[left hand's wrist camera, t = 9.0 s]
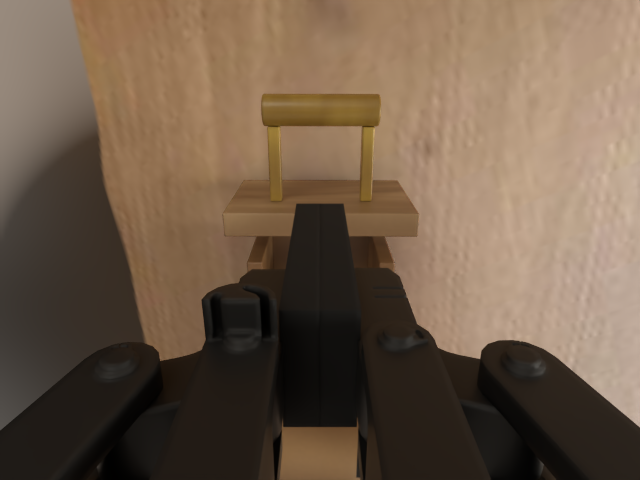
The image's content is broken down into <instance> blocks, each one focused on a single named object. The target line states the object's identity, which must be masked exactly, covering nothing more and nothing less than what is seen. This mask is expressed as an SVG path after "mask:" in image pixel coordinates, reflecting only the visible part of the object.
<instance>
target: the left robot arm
mask: <svg viewBox="0 0 640 480" xmlns="http://www.w3.org/2000/svg"><path fill="white" fill-rule="evenodd" d="M202 308H203V317H204V326H205V335H206V341H205V343H204V346H203V348H202V350H201V351H198V352H196V353H194V354H190V355H187V356H183V357H179V358H174V359H169V360H164V361H160V358H159V352H158V351H157V350H156V349H155V348H154V347H153V346H150V345H147V344H144V343H135V342H127V343H121V344H115V345H111V346H109V347H106V348H104V349H101V350H99V351H97V352H95V353H93V354H92V355H91V356H89V357H87V358H86V359H84V360H83V361H82V362H81V363H80V364H79V365H77V366H76V367H75V368H74V369H73V370H71V371H70V372H69V373H68V374H67V375H65V376H64V377H63V378H62V379H61V380H60V381H58V382H57V383H56V384H55V385H54V386H52V387H51V388H50V389H49V390H48V391H47V392H45V393H44V394H43V395H42V396H41V397H40V398H38V399H37V400H36V401H35V402H34V403H32V404H31V405H30V406H29V407H28V408H26V409H25V410H24V411H23V412H22V413H21V414H19V415H18V416H17V417H16V418H15V419H13V420H12V421H11V422H10V423H9V424H8V425H6V426H5V427H4V428H3V429H2V430H0V480H280V470H281V460H282V449H283V448H282V421H283V427H357V419H358V448H357V472H356V478H360V480H640V427H639V426H637V425H636V424H635V423H634V422H633V421H631V420H630V419H629V418H628V417H627V416H625V415H624V414H623V413H622V412H621V411H619V410H618V409H617V408H616V407H615V406H613V405H612V404H611V403H610V402H609V401H608V400H606V399H605V398H604V397H603V396H602V395H600V394H599V393H598V392H597V391H596V390H594V389H593V388H592V387H591V386H590V385H588V384H587V383H586V382H585V381H584V380H583V379H581V378H580V377H579V376H578V375H577V374H575V373H574V372H573V371H572V370H571V369H569V368H568V367H567V366H566V365H565V364H563V363H562V362H561V361H560V360H559V359H558V358H556V357H555V356H553V355H552V354H550V353H549V352H547V351H546V350H544V349H542V348H539V347H537V346H534V345H532V344H530V343H526V342H522V341H521V342H519V341H514V340H503V341H496V342H493V343H490V344H488V345H487V346H486V347H485V348H484V349H483V350H482V352H481V358H480V359H476V358H471V357H466V356H461V355H457V354H453V353H449V352H446V351H444V350H442V349H439V348H438V347H437V345H436V343H435V340H434V338H433V337H432V336H431V334H430V333H429V332H428V331H427V330H425V329H424V328H422V327H421V326H419V325H417V323H416V320H415V317H414V315H413V312H412V309H411V307H410V304H409V301H408V298H407V296H406V293H405V290H404V289H403V285H402V282H401V279H400V277H399V276H398V275H397V274H395V273H394V272H393V271H392V270H390V269H389V268H354V263H353V257H352V251H351V245H350V239H349V233H348V227H347V221H346V215H345V209H344V204H296V209H295V215H294V221H293V227H292V233H291V239H290V245H289V251H288V257H287V263H286V269H251V270H250V271H249V272H248V273H246V274H245V275H244V276H243V277H241V278H240V281H239V283H236V284H229V285H225V286H222V287H218V288H216V289H214V290H212V291H211V292H209V293H207V294H206V296H205V297H204V298H203V299H202Z"/></svg>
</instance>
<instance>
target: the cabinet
mask: <svg viewBox="0 0 640 480" xmlns="http://www.w3.org/2000/svg"><path fill="white" fill-rule="evenodd" d="M282 448H283V449H282V460H281V470H280V480H360V478H356V472H357V448H358V419H357V427H283V421H282Z"/></svg>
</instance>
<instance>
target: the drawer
mask: <svg viewBox="0 0 640 480" xmlns="http://www.w3.org/2000/svg"><path fill="white" fill-rule="evenodd" d="M261 111H262V122H263V125H264V126H268V128H267V130H268V154H269V179H270V180H244V181H243V183H242V185H241V186H240V188H239V189H238V191H237V192H236V194H235V196H234V197H233V199H232V200H231V202H230V203H229V205H228V206H227V208H226V210H225V211H224V213H223V223H224V235H225V236H257V237H256V240H255V243H254V246H253V248H252V251H251V254H250V257H249V259H248V262H247V270H248V272H249V271H250V270H251V269H286V263H287V257H288V251H289V245H290V239H291V233H292V227H293V221H294V215H295V209H296V204H344V209H345V215H346V221H347V227H348V233H349V239H350V245H351V251H352V257H353V263H354V268H389V269H390V270H392V271H393V272H394V265H395V263H394V261H393V258H392V255H391V253H390V250H389V247H388V244H387V242H386V239H385V236H417V234H418V222H419V213H418V212H417V210H416V208H415V207H414V205H413V204H412V202H411V201H410V199H409V198H408V196H407V195H406V193H405V191H404V190H403V188H402V187H401V185H400V184H399V182H398V181H375V180H372V178H373V156H374V134H375V128H374V126H378V125H379V123H380V116H381V98H380V95H379V94H263V95H262V102H261ZM280 126H362V136H361V164H360V180H282V164H281V132H280Z"/></svg>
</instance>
